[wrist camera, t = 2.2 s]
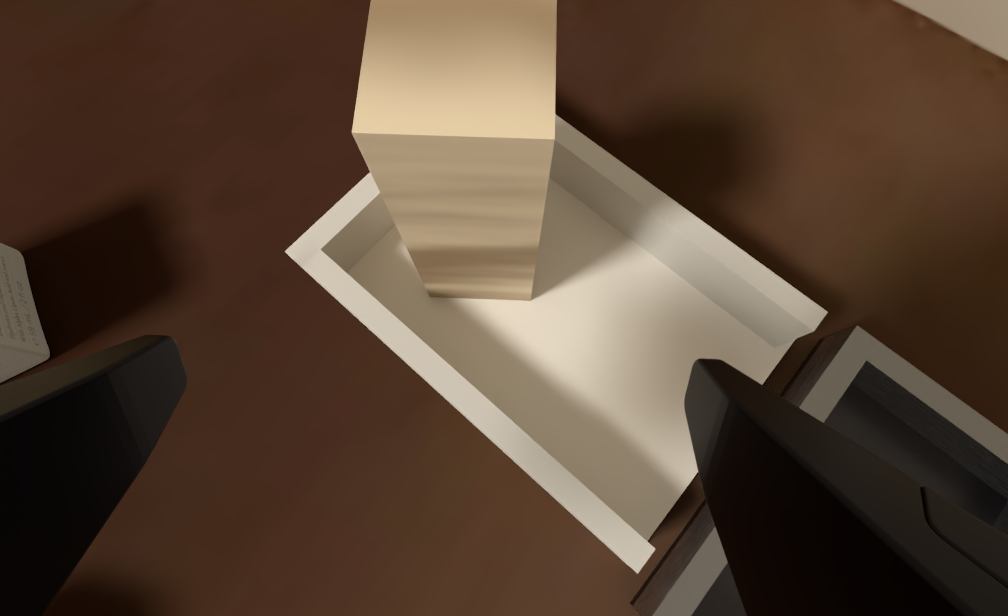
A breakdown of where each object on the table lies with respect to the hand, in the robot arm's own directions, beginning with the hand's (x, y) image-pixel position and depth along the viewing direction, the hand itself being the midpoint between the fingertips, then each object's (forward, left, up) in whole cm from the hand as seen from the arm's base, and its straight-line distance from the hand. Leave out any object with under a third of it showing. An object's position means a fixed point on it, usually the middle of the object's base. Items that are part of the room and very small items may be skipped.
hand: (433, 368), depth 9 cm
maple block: (+6, +5, -13) cm, 15 cm away
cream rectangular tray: (+6, +1, -13) cm, 15 cm away
